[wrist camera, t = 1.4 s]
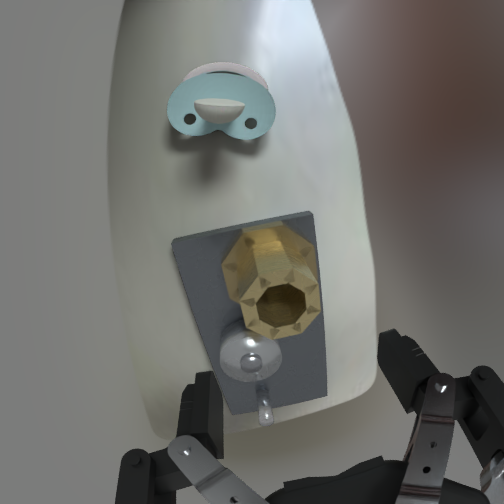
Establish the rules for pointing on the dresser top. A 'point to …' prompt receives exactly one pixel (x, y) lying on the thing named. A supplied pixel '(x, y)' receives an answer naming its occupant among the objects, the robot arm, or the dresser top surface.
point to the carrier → (245, 340)
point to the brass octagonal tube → (273, 279)
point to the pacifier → (222, 101)
